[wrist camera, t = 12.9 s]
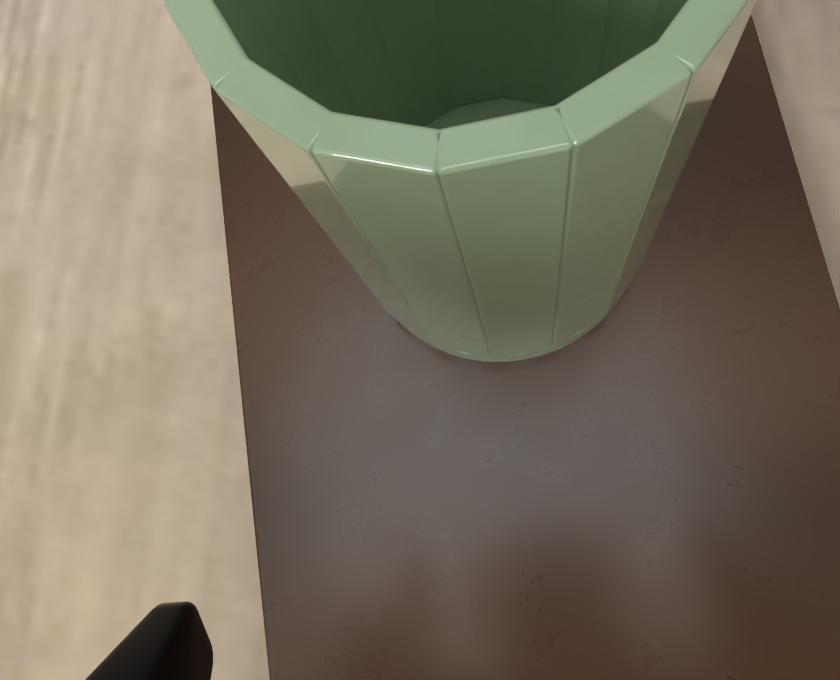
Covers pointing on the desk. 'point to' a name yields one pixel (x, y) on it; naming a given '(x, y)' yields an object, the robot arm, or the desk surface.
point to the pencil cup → (476, 144)
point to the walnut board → (553, 445)
